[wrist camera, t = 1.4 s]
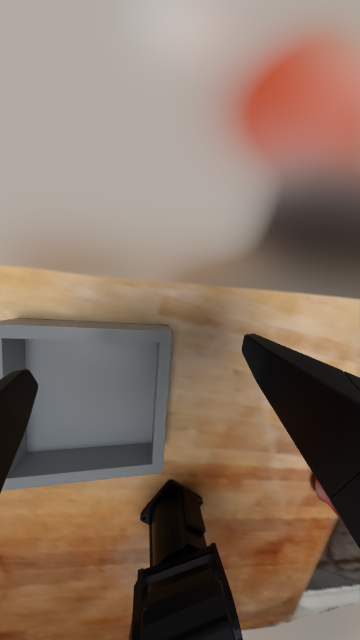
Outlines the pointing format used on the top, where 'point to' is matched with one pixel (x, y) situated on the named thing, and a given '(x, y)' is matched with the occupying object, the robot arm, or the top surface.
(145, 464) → the tray
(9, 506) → the top surface
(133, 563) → the top surface
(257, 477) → the top surface
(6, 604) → the top surface
